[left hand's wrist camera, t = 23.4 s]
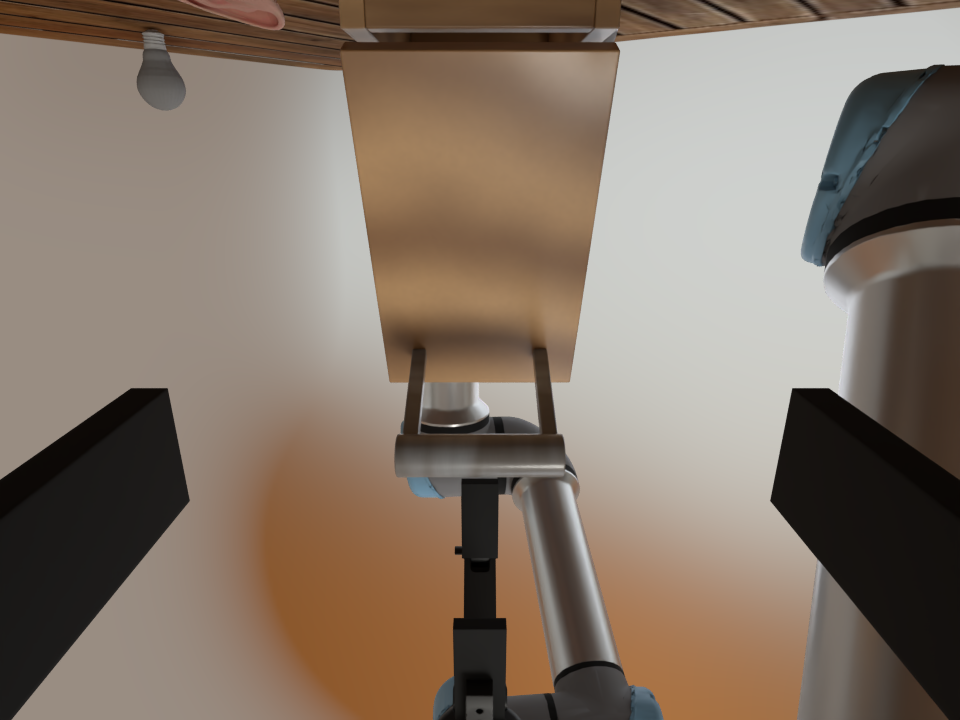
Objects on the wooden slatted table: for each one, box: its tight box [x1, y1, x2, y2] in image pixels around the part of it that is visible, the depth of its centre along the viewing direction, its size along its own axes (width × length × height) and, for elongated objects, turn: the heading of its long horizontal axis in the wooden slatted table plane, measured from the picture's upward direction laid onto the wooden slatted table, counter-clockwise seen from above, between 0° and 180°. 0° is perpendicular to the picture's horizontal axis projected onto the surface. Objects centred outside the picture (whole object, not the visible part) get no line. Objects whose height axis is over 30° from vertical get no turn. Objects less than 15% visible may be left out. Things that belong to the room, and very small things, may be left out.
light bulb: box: [137, 29, 186, 110], centre depth 81 cm, size 6×6×10 cm
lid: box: [340, 42, 620, 477], centre depth 24 cm, size 16×10×8 cm
